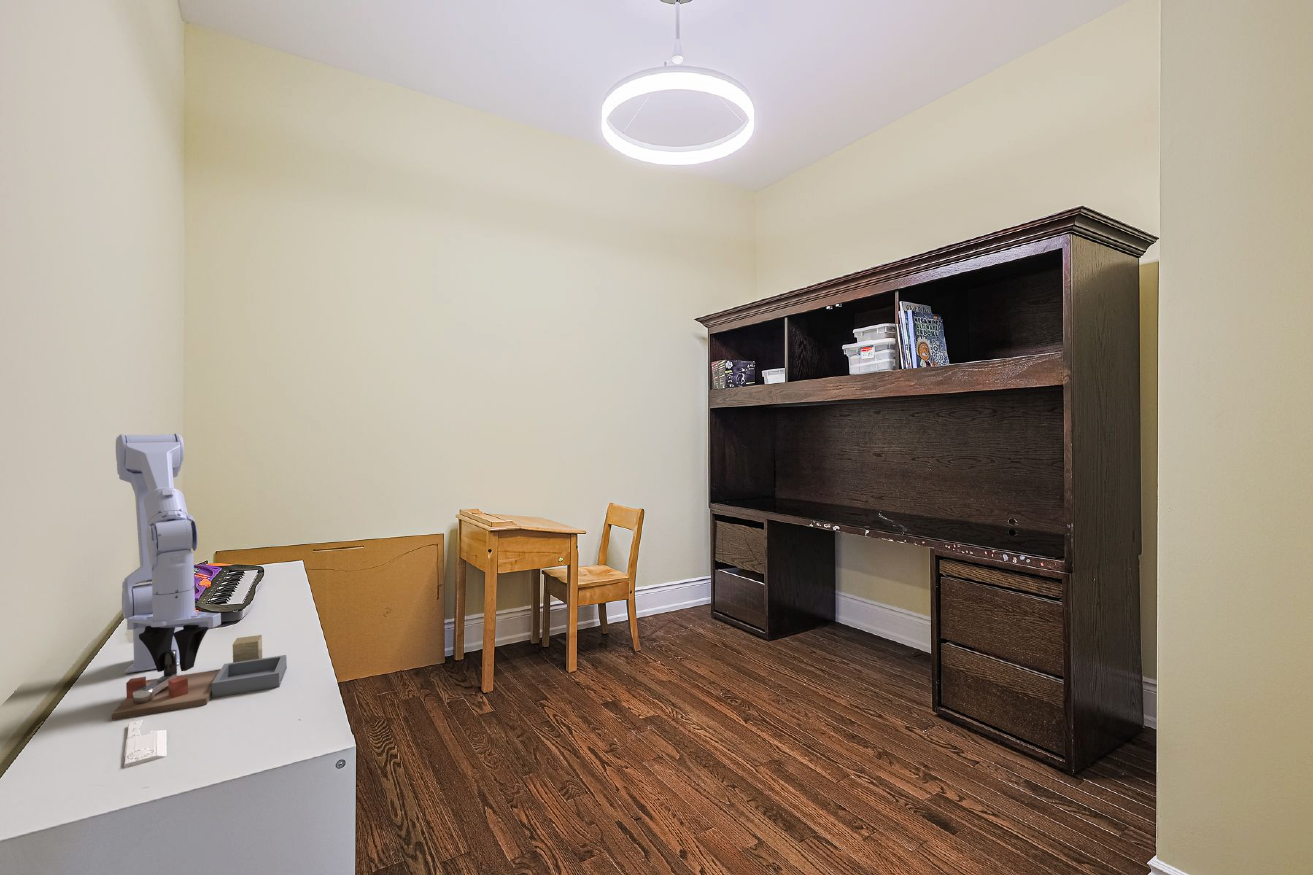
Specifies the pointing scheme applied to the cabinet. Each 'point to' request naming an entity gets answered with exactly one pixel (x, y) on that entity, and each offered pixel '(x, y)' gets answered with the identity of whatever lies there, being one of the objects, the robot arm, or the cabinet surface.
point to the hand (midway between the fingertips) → (175, 669)
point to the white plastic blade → (144, 745)
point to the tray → (249, 676)
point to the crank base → (168, 694)
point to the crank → (162, 682)
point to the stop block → (247, 648)
